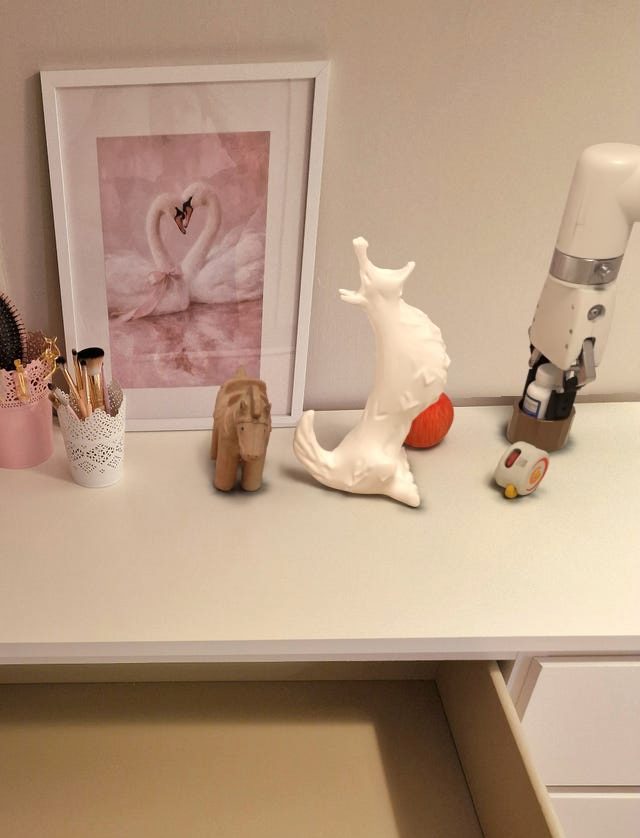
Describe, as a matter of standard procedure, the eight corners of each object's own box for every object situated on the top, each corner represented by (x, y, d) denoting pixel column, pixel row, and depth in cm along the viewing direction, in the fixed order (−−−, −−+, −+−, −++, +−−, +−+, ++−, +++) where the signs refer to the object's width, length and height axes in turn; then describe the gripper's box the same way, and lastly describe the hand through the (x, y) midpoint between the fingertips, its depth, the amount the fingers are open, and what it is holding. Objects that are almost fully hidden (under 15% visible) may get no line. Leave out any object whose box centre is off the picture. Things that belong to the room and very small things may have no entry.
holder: (549, 421, 120) (557, 391, 117) (576, 448, 114) (586, 417, 111) (496, 427, 119) (504, 397, 116) (522, 455, 114) (530, 424, 111)
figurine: (220, 522, 105) (221, 408, 95) (206, 448, 118) (206, 342, 108) (280, 518, 106) (287, 404, 95) (260, 445, 118) (265, 338, 108)
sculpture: (431, 509, 106) (483, 254, 85) (293, 511, 106) (312, 258, 86) (415, 460, 114) (459, 217, 94) (286, 462, 115) (302, 221, 95)
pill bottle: (558, 425, 117) (577, 363, 111) (558, 444, 114) (577, 381, 108) (517, 420, 119) (533, 358, 113) (515, 439, 115) (532, 376, 109)
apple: (390, 423, 121) (399, 368, 116) (450, 430, 119) (461, 375, 114) (383, 451, 116) (391, 396, 110) (445, 459, 114) (457, 403, 108)
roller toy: (548, 487, 108) (560, 446, 104) (517, 506, 105) (529, 464, 101) (517, 473, 111) (528, 432, 107) (486, 491, 108) (497, 450, 104)
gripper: (656, 288, 96) (606, 436, 108) (578, 238, 108) (541, 375, 120) (592, 295, 95) (549, 442, 107) (521, 244, 108) (489, 381, 120)
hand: (545, 405), depth 114 cm, fingers closed on pill bottle, 5 cm apart
